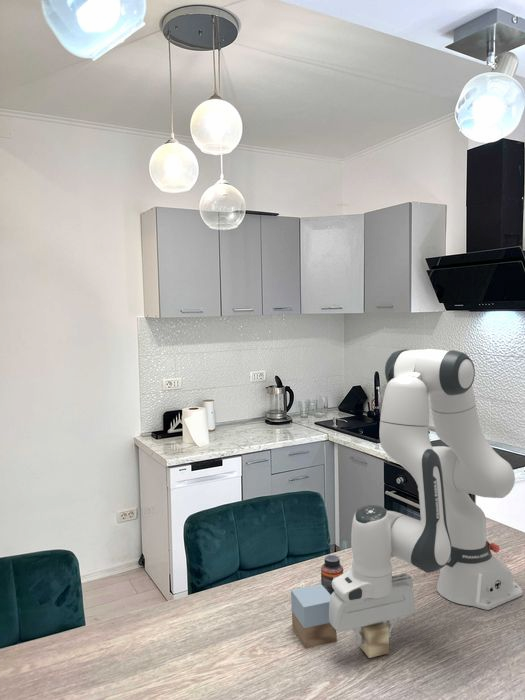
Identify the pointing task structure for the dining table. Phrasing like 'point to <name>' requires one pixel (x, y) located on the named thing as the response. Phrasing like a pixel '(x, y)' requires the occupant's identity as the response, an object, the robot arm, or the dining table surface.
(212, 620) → the dining table surface
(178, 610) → the dining table surface
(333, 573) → the supplement bottle
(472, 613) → the dining table surface
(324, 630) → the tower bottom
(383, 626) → the maple block
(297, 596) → the tower top
